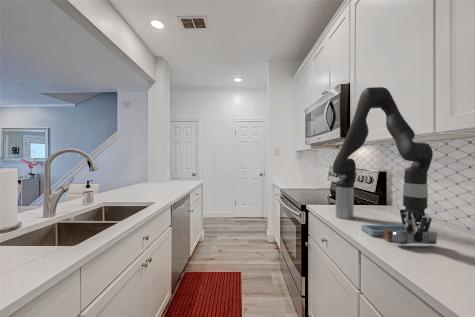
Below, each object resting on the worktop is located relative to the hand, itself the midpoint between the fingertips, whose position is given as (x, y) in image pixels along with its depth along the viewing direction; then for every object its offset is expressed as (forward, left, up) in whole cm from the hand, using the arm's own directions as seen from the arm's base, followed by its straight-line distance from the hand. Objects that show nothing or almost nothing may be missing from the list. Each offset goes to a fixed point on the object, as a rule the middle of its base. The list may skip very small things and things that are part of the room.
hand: (414, 239), depth 93 cm
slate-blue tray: (-15, 0, -3) cm, 15 cm away
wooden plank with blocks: (-7, 0, -3) cm, 8 cm away
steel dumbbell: (0, 0, -1) cm, 1 cm away
